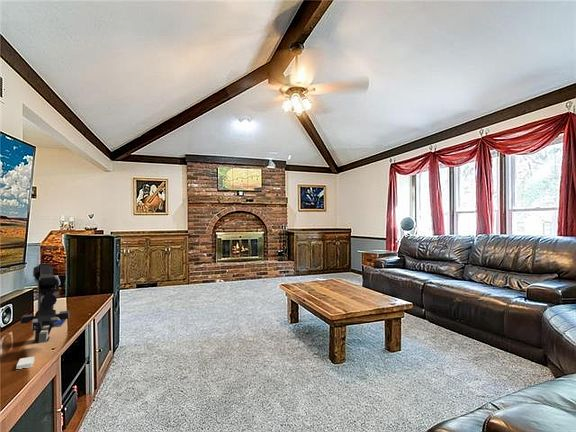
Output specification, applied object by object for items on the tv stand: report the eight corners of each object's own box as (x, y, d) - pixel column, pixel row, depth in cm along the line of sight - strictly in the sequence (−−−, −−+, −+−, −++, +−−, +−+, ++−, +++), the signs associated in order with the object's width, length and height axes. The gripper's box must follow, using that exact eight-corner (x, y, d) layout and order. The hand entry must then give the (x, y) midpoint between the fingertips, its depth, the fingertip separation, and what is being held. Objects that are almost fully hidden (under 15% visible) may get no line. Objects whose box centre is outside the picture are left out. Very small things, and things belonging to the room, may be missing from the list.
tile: (20, 358, 141) (16, 365, 134) (34, 356, 144) (31, 363, 137) (19, 363, 141) (16, 371, 134) (34, 361, 144) (31, 368, 137)
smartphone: (46, 327, 188) (53, 319, 202) (46, 328, 188) (53, 321, 202) (61, 325, 191) (67, 318, 205) (61, 327, 191) (67, 320, 205)
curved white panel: (43, 334, 161) (43, 325, 161) (49, 333, 162) (50, 325, 162) (38, 343, 149) (39, 334, 149) (45, 342, 150) (46, 333, 150)
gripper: (18, 308, 146) (17, 343, 146) (68, 304, 156) (66, 336, 155) (23, 303, 156) (22, 335, 155) (69, 299, 165) (68, 330, 165)
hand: (45, 334), depth 157 cm, fingers closed on curved white panel, 3 cm apart
